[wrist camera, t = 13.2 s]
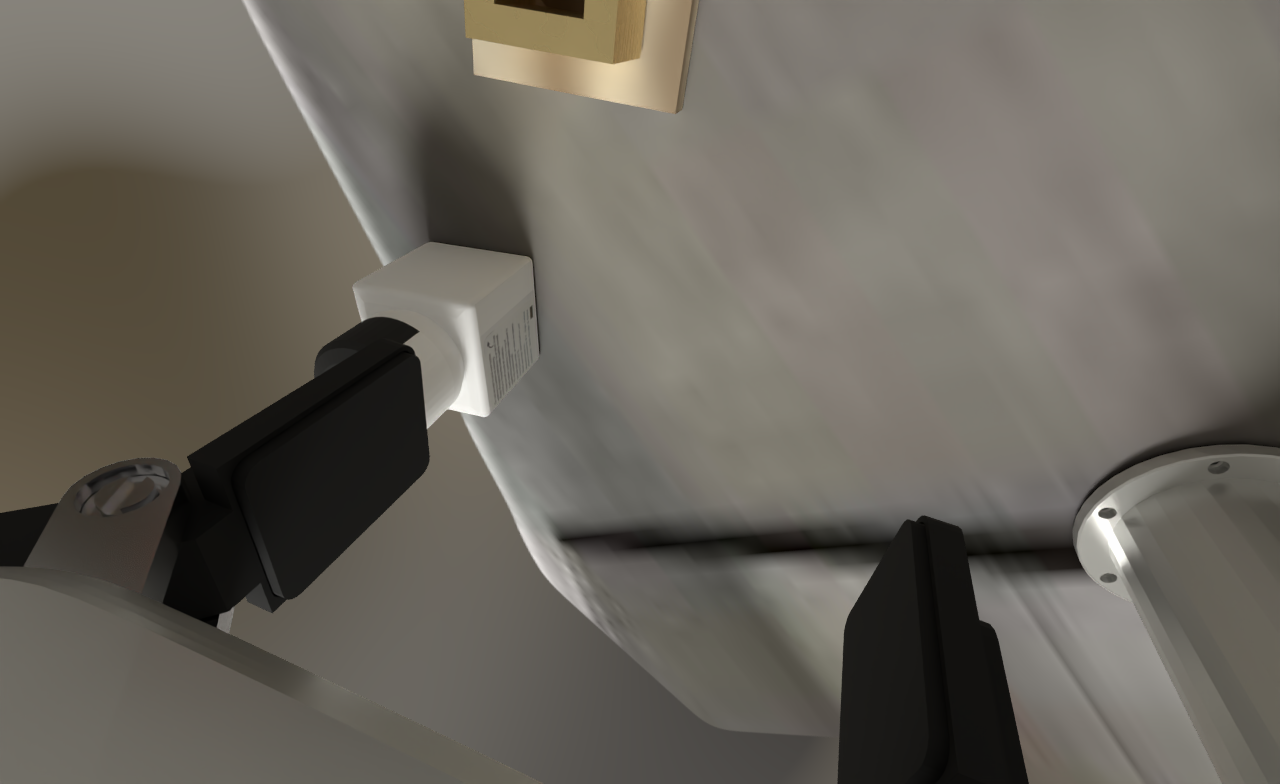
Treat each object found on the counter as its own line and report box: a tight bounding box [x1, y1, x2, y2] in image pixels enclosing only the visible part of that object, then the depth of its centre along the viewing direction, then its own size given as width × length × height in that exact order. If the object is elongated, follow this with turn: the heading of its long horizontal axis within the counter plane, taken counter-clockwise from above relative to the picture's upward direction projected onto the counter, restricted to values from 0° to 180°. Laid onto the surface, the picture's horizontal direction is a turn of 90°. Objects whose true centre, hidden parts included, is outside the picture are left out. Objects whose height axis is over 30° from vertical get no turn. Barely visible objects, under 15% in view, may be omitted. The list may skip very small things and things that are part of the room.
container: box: [314, 242, 539, 429], centre depth 34 cm, size 8×8×13 cm
